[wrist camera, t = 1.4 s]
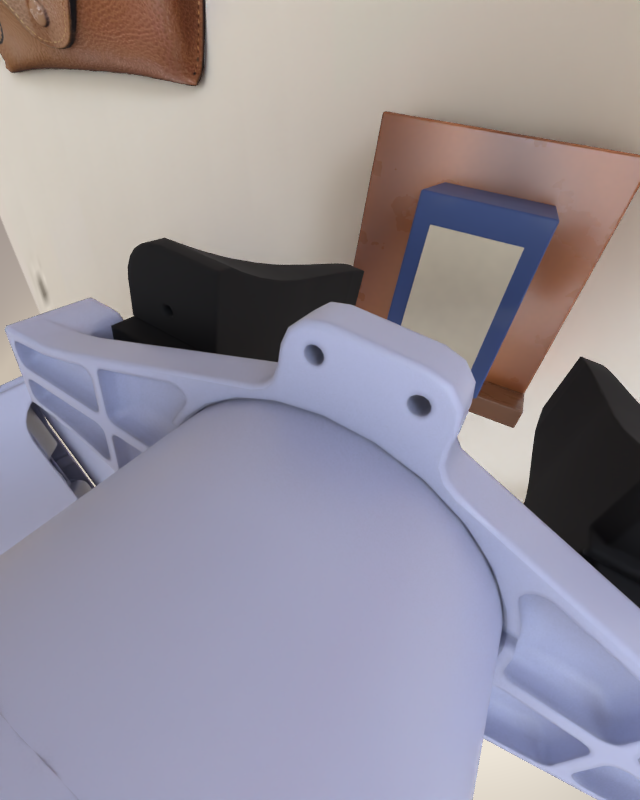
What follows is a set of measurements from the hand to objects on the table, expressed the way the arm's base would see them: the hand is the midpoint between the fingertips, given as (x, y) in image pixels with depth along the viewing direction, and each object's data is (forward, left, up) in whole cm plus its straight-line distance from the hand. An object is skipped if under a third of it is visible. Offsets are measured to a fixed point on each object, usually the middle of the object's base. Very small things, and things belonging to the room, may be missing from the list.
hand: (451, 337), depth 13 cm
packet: (0, 0, -7) cm, 7 cm away
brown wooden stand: (-1, 0, -11) cm, 11 cm away
